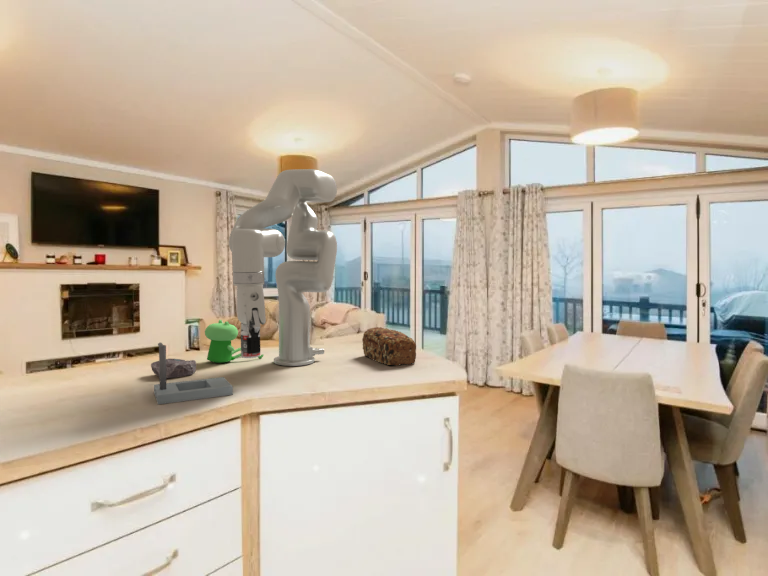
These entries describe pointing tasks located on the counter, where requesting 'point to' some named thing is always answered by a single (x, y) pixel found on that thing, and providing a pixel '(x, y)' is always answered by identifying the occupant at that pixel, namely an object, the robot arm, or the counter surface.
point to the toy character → (222, 342)
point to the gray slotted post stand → (187, 386)
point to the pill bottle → (244, 343)
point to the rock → (176, 368)
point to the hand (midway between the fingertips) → (250, 349)
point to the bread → (389, 346)
